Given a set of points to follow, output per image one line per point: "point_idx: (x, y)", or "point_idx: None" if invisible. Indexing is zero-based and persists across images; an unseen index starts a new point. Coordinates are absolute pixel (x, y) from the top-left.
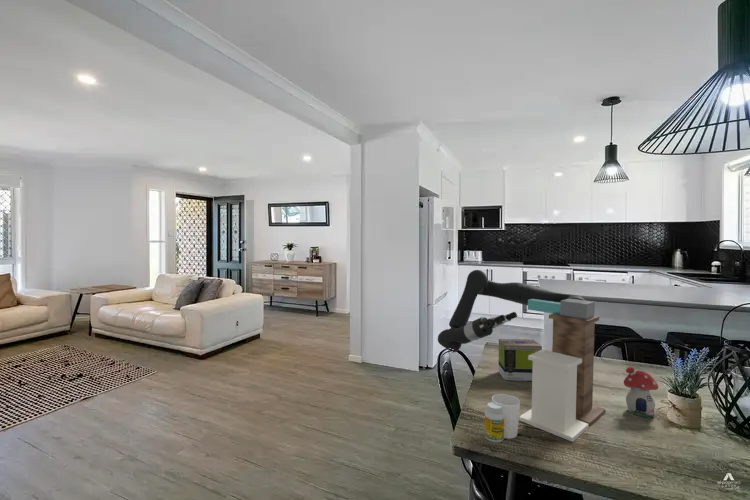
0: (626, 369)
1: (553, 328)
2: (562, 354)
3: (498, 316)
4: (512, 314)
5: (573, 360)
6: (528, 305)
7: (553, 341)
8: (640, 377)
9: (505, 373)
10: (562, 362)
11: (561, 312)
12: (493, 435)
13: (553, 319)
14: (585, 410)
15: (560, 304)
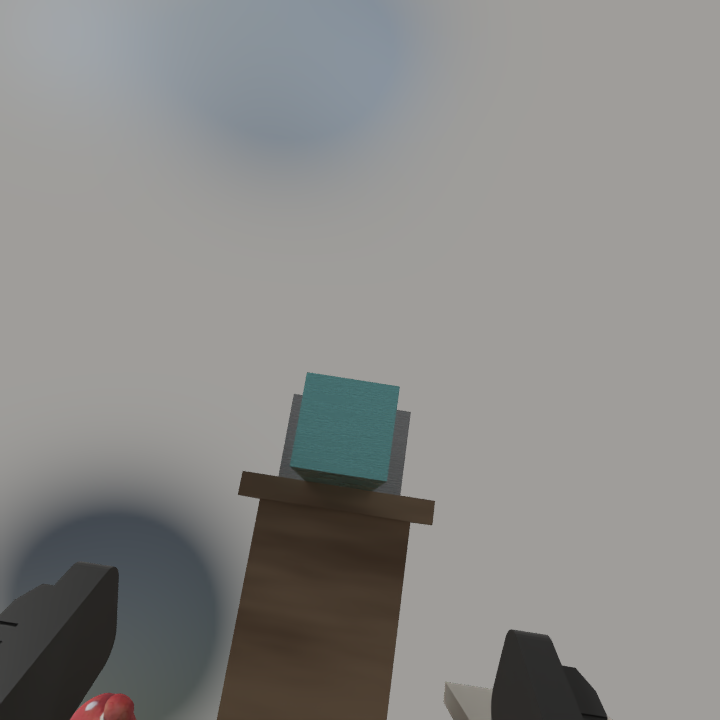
0: (123, 713)
1: (400, 590)
2: (470, 712)
3: (576, 714)
4: (84, 632)
5: None
6: (391, 441)
7: (390, 684)
8: (134, 718)
9: None
10: None
11: (401, 478)
12: None
13: (409, 528)
14: None
15: (407, 433)
